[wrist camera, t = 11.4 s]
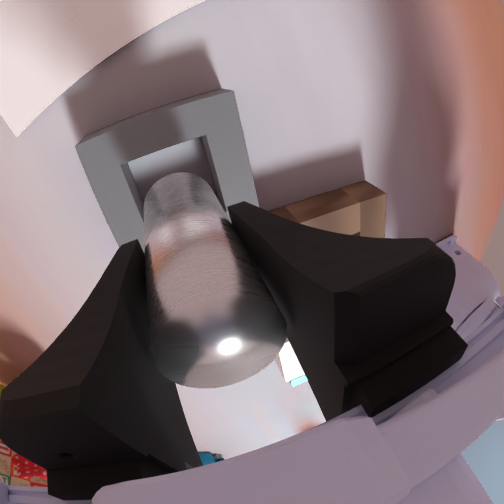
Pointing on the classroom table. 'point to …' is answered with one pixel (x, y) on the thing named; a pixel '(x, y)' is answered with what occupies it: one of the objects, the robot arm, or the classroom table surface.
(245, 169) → the block
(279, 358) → the block
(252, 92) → the classroom table surface
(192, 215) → the steel peg
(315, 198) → the socket block
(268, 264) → the robot arm
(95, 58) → the paper sheet
